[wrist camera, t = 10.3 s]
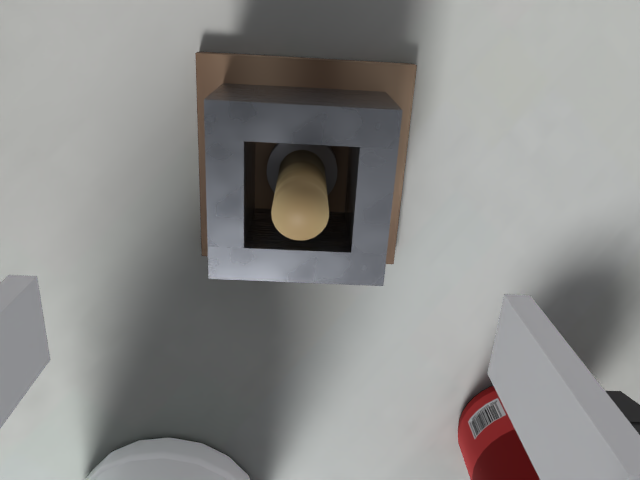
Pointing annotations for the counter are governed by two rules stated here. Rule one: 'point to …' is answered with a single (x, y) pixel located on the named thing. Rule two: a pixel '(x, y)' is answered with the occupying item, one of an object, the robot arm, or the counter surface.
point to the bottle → (167, 462)
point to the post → (301, 159)
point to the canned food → (492, 441)
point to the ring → (256, 223)
